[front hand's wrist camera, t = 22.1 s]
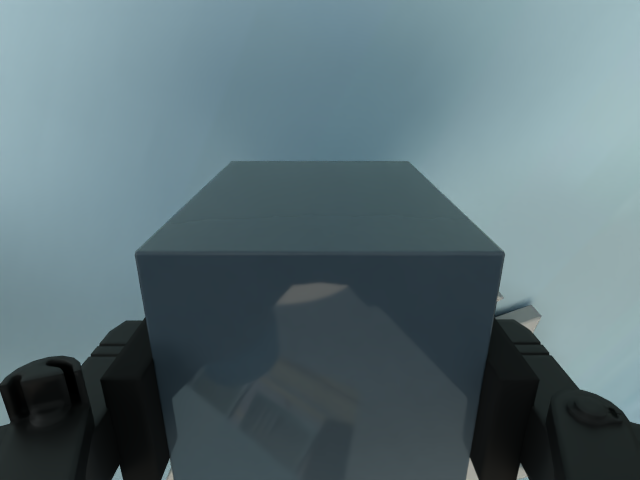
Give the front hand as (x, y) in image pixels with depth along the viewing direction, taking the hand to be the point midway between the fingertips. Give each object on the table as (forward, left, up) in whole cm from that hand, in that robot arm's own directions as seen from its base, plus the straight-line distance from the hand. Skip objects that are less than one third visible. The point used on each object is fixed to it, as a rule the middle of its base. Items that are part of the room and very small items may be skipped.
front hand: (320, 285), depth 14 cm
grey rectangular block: (0, 0, -3) cm, 3 cm away
